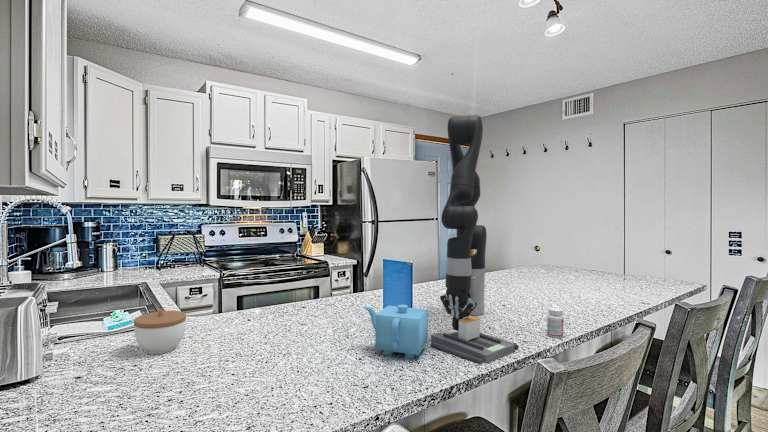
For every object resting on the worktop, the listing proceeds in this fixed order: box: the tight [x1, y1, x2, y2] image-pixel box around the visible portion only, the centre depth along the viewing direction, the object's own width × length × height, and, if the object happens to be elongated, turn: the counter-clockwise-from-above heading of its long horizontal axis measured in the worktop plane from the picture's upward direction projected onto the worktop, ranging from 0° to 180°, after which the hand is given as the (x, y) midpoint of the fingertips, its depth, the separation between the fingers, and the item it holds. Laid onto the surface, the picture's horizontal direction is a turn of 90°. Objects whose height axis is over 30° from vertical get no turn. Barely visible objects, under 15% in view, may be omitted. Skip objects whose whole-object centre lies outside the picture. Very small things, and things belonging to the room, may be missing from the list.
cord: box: [430, 342, 483, 364], centre depth 109 cm, size 17×1×1 cm, turn 44°
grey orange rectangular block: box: [458, 315, 481, 341], centre depth 116 cm, size 3×6×5 cm, turn 129°
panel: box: [430, 328, 515, 364], centre depth 115 cm, size 20×13×3 cm, turn 39°
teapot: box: [362, 304, 429, 360], centre depth 112 cm, size 18×16×13 cm
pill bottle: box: [546, 307, 565, 339], centre depth 126 cm, size 5×5×8 cm
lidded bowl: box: [133, 308, 187, 355], centre depth 110 cm, size 13×13×11 cm
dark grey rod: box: [480, 332, 520, 350], centre depth 121 cm, size 19×1×1 cm, turn 39°
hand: (457, 329), depth 119 cm, fingers closed
